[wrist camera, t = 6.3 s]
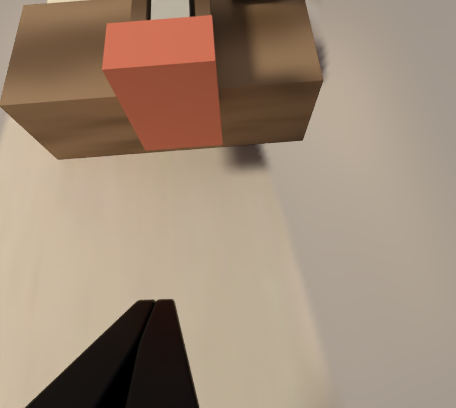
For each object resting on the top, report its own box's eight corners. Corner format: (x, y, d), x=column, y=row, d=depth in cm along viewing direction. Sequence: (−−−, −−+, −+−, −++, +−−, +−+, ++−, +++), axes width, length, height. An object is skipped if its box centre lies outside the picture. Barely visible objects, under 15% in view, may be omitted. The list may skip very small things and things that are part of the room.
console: (302, 140, 23) (334, 47, 15) (57, 159, 23) (-34, 76, 15) (287, 57, 26) (307, -56, 18) (70, 74, 26) (-1, -31, 18)
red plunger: (222, 144, 18) (215, 60, 12) (145, 150, 18) (102, 69, 12) (211, -11, 22) (202, -123, 17) (150, -6, 22) (121, -117, 17)
